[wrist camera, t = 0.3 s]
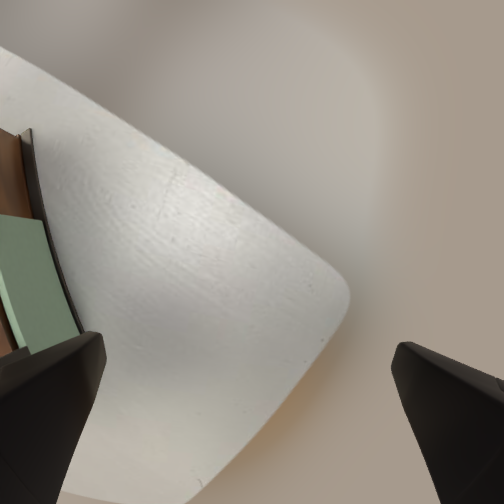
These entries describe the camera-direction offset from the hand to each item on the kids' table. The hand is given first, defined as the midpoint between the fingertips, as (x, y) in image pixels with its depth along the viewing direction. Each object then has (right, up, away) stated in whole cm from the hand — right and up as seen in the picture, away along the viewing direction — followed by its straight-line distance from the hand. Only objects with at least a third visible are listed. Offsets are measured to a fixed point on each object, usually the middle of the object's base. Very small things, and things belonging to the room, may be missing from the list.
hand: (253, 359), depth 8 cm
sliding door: (-16, +1, +13) cm, 20 cm away
